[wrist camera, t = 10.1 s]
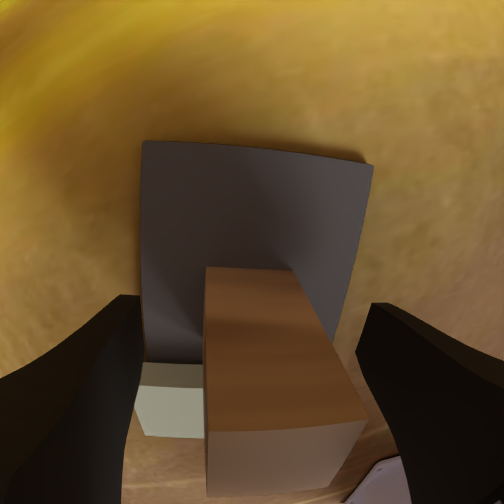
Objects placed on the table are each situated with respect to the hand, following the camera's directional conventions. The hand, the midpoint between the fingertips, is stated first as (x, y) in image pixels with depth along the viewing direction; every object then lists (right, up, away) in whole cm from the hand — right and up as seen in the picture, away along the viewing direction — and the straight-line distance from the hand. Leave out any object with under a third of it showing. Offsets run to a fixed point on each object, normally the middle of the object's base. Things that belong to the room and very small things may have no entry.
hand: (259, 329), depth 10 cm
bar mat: (0, +1, +3) cm, 3 cm away
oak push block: (0, 0, +3) cm, 3 cm away
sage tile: (-2, -7, +5) cm, 9 cm away
